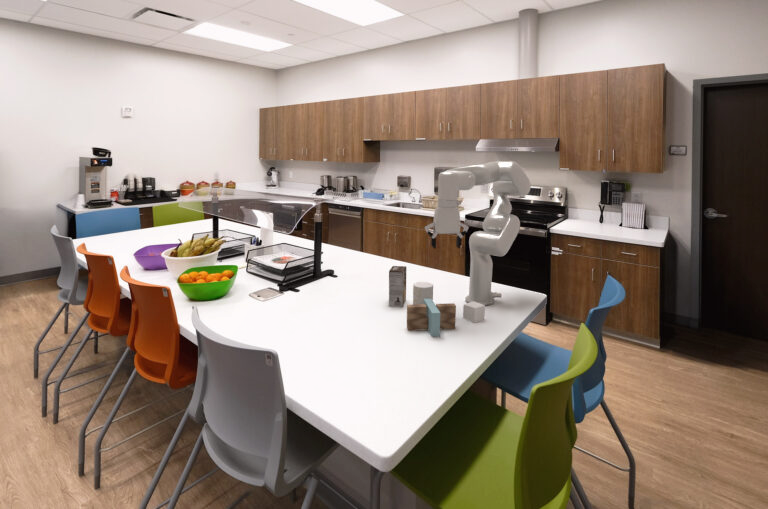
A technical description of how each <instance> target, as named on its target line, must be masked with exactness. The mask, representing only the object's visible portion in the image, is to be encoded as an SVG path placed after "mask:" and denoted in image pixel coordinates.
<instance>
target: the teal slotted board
mask: <svg viewBox="0 0 768 509" xmlns="http://www.w3.org/2000/svg"><path fill="white" fill-rule="evenodd" d="M424 304H425V305H426V307H427V313H426V316H427V317H428V319H429V320H428V333H429V335H430V336H431V337H432V338H437V337H440V334H441V331H440V330H441V329H440V311H439V310H438V308H437V307H436V303H435V302H434V300H433V301H432V299H424Z"/></svg>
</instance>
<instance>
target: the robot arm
mask: <svg viewBox="0 0 768 509" xmlns="http://www.w3.org/2000/svg"><path fill="white" fill-rule="evenodd" d="M437 182H438V185H437V207H435V209H434V213H433V222H431V223H429V224H427V225H426V226H424V230H425V231H426V233H427V234H428V236H429V237H430V239H431V241H430V242H431V243H430V246H431V247H432V248H433V249H436V248H437V238H436V237H437V236H438V235H439V234H443V235H445V234H446V235H447V234H456V235H457V236H456V248H458V249H461V246H462V239H463V238H464V236H465V235H466V234H467V233H468V230H469V228H470V227H469V225H467V224H465V223H462V222H461V214H460V213H461V212H460V207H459V206H460V205H462V200H459V199H458V198H459V194H458V193H459V191H469V190H472V189H473V188H474V186H484V185H488V184H491V183H493V184H492V192H493V204H492V206H491V208H490V209H489V211H488V213H487V215H486V216H485V218H484V219H483V222H482V229H483V230H478V231H474V232H473V233H472V234H470V236H469V240H468V244H469V245H468V246H469V247H468V248H469V252H470V264H469V266H470V269H469V288H468V290H469V291H468V295H466V296H465V298H464V299H465V300H464V301H465V302H466V303H470V302H477V303H480V304H483V305H485V306H490V305H493V304H494V303H495V298H502V296H503V295H502V293H501V292H500V293H499V292H496V291H494V292H493V291H492V279H493V267H494V266H493V259H492V257H491V256H493V257H494V256H496V257H504V256H505V255H506V254H507V253H508V252H509V250H510V249H511V247H512V245H513V243H514V241H515V240H516V238H517V236H518V234H519V232H520V227H521V222H520V219H519V217H518V216H517V215H514V214H511V213H512V210H513V207H512V204H511V201H510V200H509V197H508V196H510V197H525V196H527V195H528V194H530V192H531V187H532V186H531V181H530V179H529V177H528V176H527V174H526V172H525V171H524V169H523V168H522V167H521V166H520V165H519V164H518V162H516V161H513V160H509V161H508V160H505V161H504V160H496V161H490V162H486V163H481V164H477V165H476V164H475V165H474V164H473V165H469V166H463V167H461V166H460V167H455V168H450V169H447V170H445V171H441V172H440V173H439V174H438V181H437ZM461 227H462V228H463V229H462V231H461ZM431 228H432V230H433V232H431V231H430V229H431Z"/></svg>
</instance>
